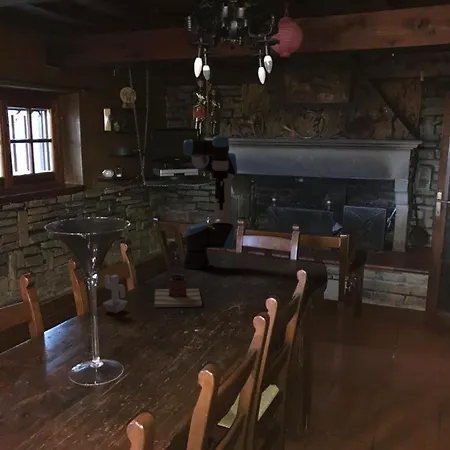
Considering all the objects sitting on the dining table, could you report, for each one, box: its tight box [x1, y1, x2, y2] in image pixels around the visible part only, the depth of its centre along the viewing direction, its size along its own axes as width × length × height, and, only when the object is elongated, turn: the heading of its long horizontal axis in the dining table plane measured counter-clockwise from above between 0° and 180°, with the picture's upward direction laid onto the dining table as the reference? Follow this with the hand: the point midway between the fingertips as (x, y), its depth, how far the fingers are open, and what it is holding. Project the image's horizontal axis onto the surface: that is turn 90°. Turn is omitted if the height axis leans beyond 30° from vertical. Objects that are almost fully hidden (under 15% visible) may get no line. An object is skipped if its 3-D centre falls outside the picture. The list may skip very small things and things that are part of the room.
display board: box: [154, 288, 203, 308], centre depth 223 cm, size 20×20×2 cm
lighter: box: [168, 273, 188, 297], centre depth 222 cm, size 8×3×10 cm, turn 88°
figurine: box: [102, 274, 128, 314], centre depth 206 cm, size 7×9×15 cm
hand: (219, 214), depth 240 cm, fingers open, 13 cm apart
